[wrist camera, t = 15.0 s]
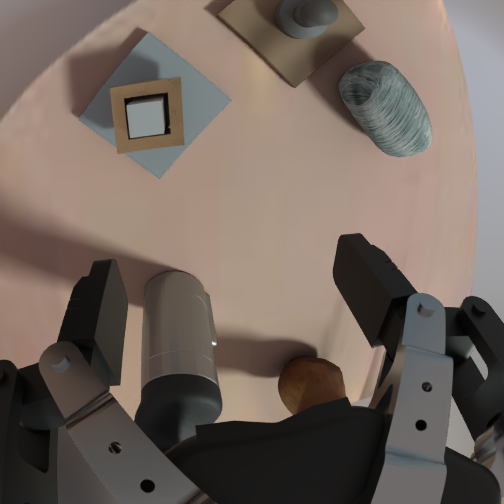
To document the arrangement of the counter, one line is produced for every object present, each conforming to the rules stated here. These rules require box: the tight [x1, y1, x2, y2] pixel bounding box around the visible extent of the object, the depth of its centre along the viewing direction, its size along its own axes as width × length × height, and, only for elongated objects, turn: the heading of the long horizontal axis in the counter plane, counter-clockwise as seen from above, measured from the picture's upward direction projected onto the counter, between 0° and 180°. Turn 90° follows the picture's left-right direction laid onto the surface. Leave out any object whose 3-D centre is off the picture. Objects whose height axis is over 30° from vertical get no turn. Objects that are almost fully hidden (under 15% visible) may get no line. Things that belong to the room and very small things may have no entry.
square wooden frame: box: [110, 76, 185, 154], centre depth 26 cm, size 6×6×3 cm
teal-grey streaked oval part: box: [338, 61, 432, 157], centre depth 32 cm, size 14×10×10 cm
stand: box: [217, 0, 365, 88], centre depth 24 cm, size 12×12×8 cm
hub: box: [79, 32, 232, 179], centre depth 27 cm, size 12×12×8 cm
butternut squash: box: [278, 356, 346, 415], centre depth 55 cm, size 14×13×25 cm
